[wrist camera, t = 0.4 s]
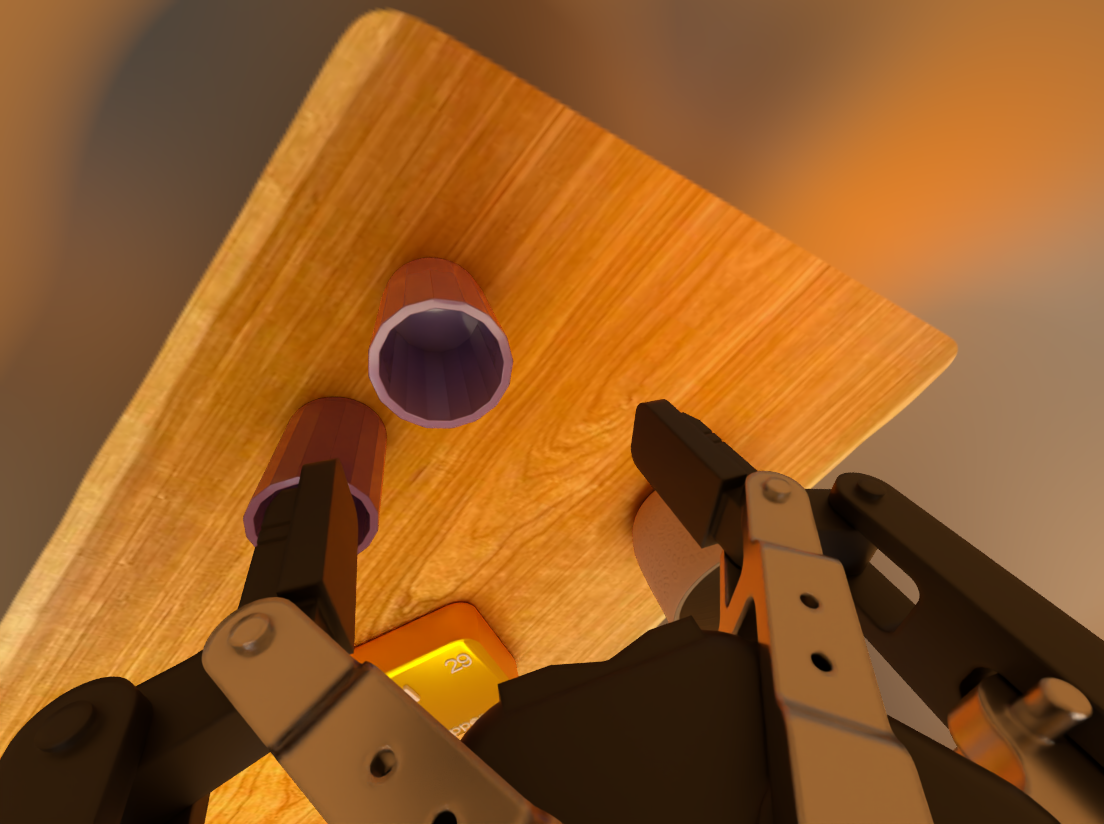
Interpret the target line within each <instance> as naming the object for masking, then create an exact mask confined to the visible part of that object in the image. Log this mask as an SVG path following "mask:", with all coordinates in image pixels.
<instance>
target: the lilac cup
mask: <svg viewBox="0 0 1104 824" xmlns="http://www.w3.org/2000/svg"><path fill="white" fill-rule="evenodd" d="M512 365H513V358H512V355H511V351H510V347H509V343H508V340H507V337H506V335H505V333H504V331H503V329H502V327H501V325H500V324H499V322H498V320H497V318H496V316H495V314H494V312H493V310H492V309H491V307H490V305H489V303H488V301H487V299H486V297H485V296H484V294H483V292H482V290H481V288H480V287H479V285H478V284H477V283H476V281H475V280H474V278H473V277H472V276H471V275H470V274H469V273H468V272H467V271H466V270H465V269H463V268H462V267H460V266H459V265H457V264H455V263H453V262H451V261H448V260H445V259H441V258H432V257H430V258H421V259H416V260H413V261H411V262H409V263H407V264H405V265H403V266H402V267H400V268H399V269H398V270H397V271H396V272H395V273H394V274H393V275H392V276H391V278H390V279H389V281H388V283H387V285H386V288H385V290H384V292H383V294H382V298H381V302H380V306H379V310H378V314H377V318H376V322H375V326H374V330H373V334H372V338H371V342H370V346H369V350H368V367H369V378H370V381H371V383H372V385H373V387H374V389H375V391H376V393H377V395H378V397H379V399H380V400H381V402H382V403H384V404H385V405H386V406H387V407H388V408H389V409H390V410H392V411H393V412H394V413H395V414H396V415H397V416H398V417H400V418H401V419H404V420H406V421H409V422H412V423H414V424H417V425H420V426H422V427H426V428H455V427H458V426H461V425H464V424H467V423H470V422H474V421H476V420H478V419H479V418H481V417H482V416H483V415H485V414H486V413H487V412H489V411H490V410H491V409H493V408H494V407H495V406H496V405H497V404H498V402H499V401H500V399H501V397H502V396H503V394H504V393H505V391H506V389H507V388H508V386H509V384H510V377H511V371H512Z"/></svg>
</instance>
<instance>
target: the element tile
mask: <svg viewBox="0 0 1104 824" xmlns="http://www.w3.org/2000/svg"><path fill="white" fill-rule="evenodd" d="M350 655H351V656H352V657H353V658H354V659H355V660H357V661H358V662H359V663H361V664H363V663H364V662H365V661H368V662H371V663H372V664H374V665H375V666H377V667H378V668H379V669H380V670H381V671H383V672H384V673H385V674H386V675H387V676H388V677H389V678H390V679H392V680H393V681H394V682H395V683H396V684H397V685H398V686H399V687H401V688H402V689H403V690H404V691H405V692H406V693H407V694H408V695H410V696H411V697H412V698H413V699H414V700H415V701H416V702H417V703H419V704H420V705H421V706H422V707H423V708H424V709H425V710H426V711H428V712H429V713H430V714H431V715H432V716H433V717H434V718H435V719H437V720H438V721H439V722H440V723H441V724H442V725H443V726H444V727H446V728H447V729H448V730H449V731H450V732H451V733H452V734H453V735H454V736H459V735H461V734H463V733H465V732H467V731H468V730H469V729H470V727H471V726H472V725H473V724H474V723H475V722H476V720H477V719H478V718H480V717H481V716H482V715H483V714H484V713H485V712H486V711H487V710H488V709H489V708H491V707H492V706H494V705H495V704H496V703H498V702H499V693H498V684H499V683H502V682H505V681H508V680H510V679H513V678H516V677H518V672H517V667H516V662H515V660H514V658H513V657H512V655H511V654H510V653H509V652H508V650H507V649H506V648H505V646H504V645H503V644H502V642H501V641H500V640H499V638H498V637H497V636H496V634H495V633H494V632H493V630H492V629H491V628H490V627H489V625H488V624H487V623H486V621H485V620H484V619H483V617H482V616H481V615H480V613H479V612H478V611H477V609H476V608H475V607H474V606H472V605H470V604H468V603H462V602H459V603H453V604H450V605H447V606H445V607H443V608H440V609H438V610H436V611H434V612H432V613H430V614H427V615H425V616H423V617H421V618H419V619H417V620H414V621H412V622H410V623H408V624H406V625H404V626H402V627H399V628H397V629H395V630H393V631H391V632H389V633H386V634H384V635H382V636H380V637H378V638H376V639H373V640H371V641H369V642H367V643H365V644H363V645H360V646H358V647H356V648H354V653H353V654H350Z"/></svg>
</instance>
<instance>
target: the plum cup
mask: <svg viewBox="0 0 1104 824" xmlns="http://www.w3.org/2000/svg"><path fill="white" fill-rule="evenodd" d="M386 441H387V434H386V429H385V426H384V424H383V422H382V420H381V419H380V417H379V416H378V415H377V414H376V413H375V412H374V411H373V410H372V409H370V408H369V407H368V406H366V405H364V404H362V403H360V402H358V401H355V400H352V399H348V398H341V397H327V398H321V399H317V400H314V401H311V402H309V403H307V404H305V405H304V406H302V407H301V408H300V409H299V410H297V411H296V412H295V414H294V415H293V416H292V418H291V419H290V421H289V423H288V425H287V427H286V429H285V431H284V433H283V435H282V437H281V439H280V441H279V444H278V446H277V448H276V450H275V452H274V454H273V456H272V458H271V460H270V462H269V464H268V466H267V468H266V470H265V472H264V474H263V476H262V478H261V480H260V482H259V484H258V486H257V488H256V491H255V493H254V495H253V497H252V499H251V501H250V503H249V505H248V507H247V510H246V512H245V514H244V516H243V521H244V527H245V533H246V536H247V538H248V539H249V541H250V542H251V543H252V544H253V545H254V547H255V546H257V539H258V536H259V532H260V531H261V525H262V521H263V518H264V514H265V511H266V508H267V507H268V506H269V504H270V503H271V502H272V501H273V500H274V498H275V497H276V496H277V495H278V493H279V492H280V491H281V490H286V489H291V488H296V487H298V483H299V479H300V474H301V469H302V466H303V464H307V463H313V462H318V461H324V460H329V459H335V458H339V460H340V461H341V464H342V467H343V470H344V473H345V476H346V479H347V482H348V485H349V488H350V492H351V495H352V498H353V501H354V504H355V508H356V513H357V519H358V549H357V555H358V554H359V553H360V552H362V551H363V550H364V549H366V548H367V547H368V546H369V545H370V543H371V541H372V540H373V538H374V536H375V535H376V533H377V531H378V526H379V516H380V506H381V496H382V486H383V476H384V466H385V456H386Z"/></svg>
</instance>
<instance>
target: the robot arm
mask: <svg viewBox="0 0 1104 824" xmlns="http://www.w3.org/2000/svg"><path fill="white" fill-rule="evenodd" d="M631 453H632V458H633V461H634V463H635V465H636V466H637V468H638V469H639V470H640V472H641V473H642V474H643V475H644V477H645V478H646V479H647V480H648V482H649V483H650V484H651V485H652V487H653V488H654V489H655V491H656V492H657V493H658V494H659V496H660V497H661V498H662V499H663V501H664V502H665V503H666V504H667V506H668V507H669V508H670V509H671V511H672V512H673V513H674V515H675V516H676V517H677V518H678V520H679V521H680V522H681V523H682V525H683V526H684V527H685V528H686V530H687V531H688V532H689V533H690V535H691V536H692V537H693V539H694V540H695V541H696V542H697V544H698V545H699V546H700V547H701V549H702V548H705V547H709V546H712V545H715V544H719V545H720V546H721V548H722V552H721V555H720V624H719V630H718V631H715V630H701V629H700V627H699V626H698V624H697V623H696V621H695V620H694V618H693V617H692V615H690V616H688V617H685V618H682V619H679V620H676V621H674V622H671V623H668V624H665V625H662V626H660V627H657V628H654V629H651V630H648V631H647V632H646V633H644V634H643V635H642V636H640V637H639V638H638V639H636V640H635V641H634V642H632V643H631V644H630V645H628V646H627V647H626V648H624V649H623V650H622V651H620V652H619V653H618V654H616V655H615V656H614V657H612V658H611V659H609V660H607V661H602V662H589V663H575V664H561V665H550V666H547V667H544V668H541V669H538V670H536V671H533V672H530V673H527V674H524V675H522V676H519V677H516V678H513V679H510V680H508V681H505V682H502V683H499V684H498V693H499V702H498V703H496V704H495V705H494V706H492V707H491V708H489V709H488V710H487V711H486V712H485V713H484V714H483V715H482V716H481V717H480V718H478V719H477V720H476V722H475V723H474V724H473V725H472V726H471V727H470V729H469V730H468V731H467V732H466V733H465V735H464V736H463V737H462V739H461V740H459V739H458V738H457V737H456V736H454V735H453V734H452V733H451V732H450V731H449V730H448V729H447V728H446V727H444V726H443V725H442V724H441V723H440V722H439V721H438V720H437V719H435V718H434V717H433V716H432V715H431V714H430V713H429V712H428V711H426V710H425V709H424V708H423V707H422V706H421V705H420V704H419V703H417V702H416V701H415V700H414V699H413V698H412V697H411V696H410V695H408V694H407V693H406V692H405V691H404V690H403V689H402V688H401V687H399V686H398V685H397V684H396V683H395V682H394V681H393V680H392V679H390V678H389V677H388V676H387V675H386V674H385V673H384V672H383V671H381V670H380V669H379V668H378V667H377V666H375V665H374V664H372V663H371V662H368V661H365V662H364V663H363V664H361V663H359V662H358V661H357V660H355V659H354V658H353V657H352V656H351V655H350V654H353V653H354V636H355V607H356V578H357V549H358V519H357V513H356V508H355V504H354V501H353V498H352V495H351V492H350V488H349V485H348V482H347V479H346V476H345V473H344V470H343V467H342V464H341V461H340V460H339V458H335V459H329V460H324V461H318V462H313V463H307V464H303V466H302V469H301V474H300V479H299V483H298V487H296V488H291V489H286V490H281V491H280V492H279V493H278V495H277V496H276V497H275V498H274V500H273V501H272V502H271V503H270V504H269V506H268V507H267V508H266V511H265V514H264V518H263V521H262V525H261V531H260V532H259V536H258V539H257V546H255V550H254V553H253V557H252V561H251V564H250V568H249V571H248V575H247V578H246V582H245V585H244V589H243V593H242V596H241V600H240V603H239V606H238V609H237V610H236V611H234V612H233V613H231V614H230V615H229V616H228V617H226V618H225V619H224V620H223V621H222V622H221V623H220V624H219V625H218V626H217V627H216V628H215V629H214V631H213V632H212V633H211V635H210V636H209V638H208V639H207V642H206V644H205V646H204V649H203V650H201V651H200V652H198V653H197V654H196V655H194V656H192V657H190V658H189V659H187V660H185V661H183V662H181V663H179V664H177V665H176V666H174V667H172V668H170V669H168V670H166V671H164V672H162V673H160V674H158V675H156V676H154V677H153V678H151V679H149V680H147V681H145V682H143V683H141V684H139V685H137V686H134V685H133V684H132V683H131V682H130V681H128V680H127V679H125V678H121V677H104V678H100V679H96V680H92V681H89V682H87V683H84V684H82V685H80V686H78V687H75V688H73V689H71V690H70V691H68V692H66V693H64V694H63V695H61V696H59V697H58V698H56V699H55V700H54V701H52V702H51V703H49V704H48V705H47V706H45V707H44V708H43V709H42V710H40V711H39V712H38V713H37V714H36V715H35V716H33V717H32V718H31V719H30V720H29V721H28V722H27V723H26V724H25V725H24V726H23V727H22V729H21V730H20V731H19V732H18V733H17V734H16V736H15V737H14V738H13V740H12V741H11V742H10V744H9V745H8V747H7V749H6V750H5V752H4V754H3V756H2V757H1V759H0V824H204V823H205V818H206V812H207V807H208V802H209V797H210V792H212V791H213V790H214V789H216V788H217V787H219V786H220V785H222V784H223V783H225V782H226V781H228V780H229V779H231V778H232V777H234V776H235V775H237V774H238V773H240V772H241V771H243V770H244V769H246V768H247V767H249V766H250V765H252V764H253V763H255V762H256V761H258V760H259V759H260V758H262V757H263V756H265V755H266V754H268V753H269V752H271V753H272V754H273V756H274V757H275V758H276V760H277V761H278V762H279V763H280V765H281V766H282V767H283V768H284V770H285V771H286V772H287V773H288V775H289V776H290V777H291V778H292V780H293V781H294V782H295V783H296V785H297V786H298V787H299V788H300V790H301V791H302V792H303V793H304V795H305V796H306V797H307V798H308V799H309V801H310V802H311V803H312V804H313V806H314V807H315V808H316V809H317V811H318V812H319V813H320V814H321V816H322V817H323V818H324V819H325V821H326V822H327V823H328V824H1104V641H1103V640H1102V639H1100V638H1099V637H1097V636H1096V635H1095V634H1093V633H1092V632H1091V631H1089V630H1088V629H1087V628H1085V627H1084V626H1082V625H1081V624H1080V623H1078V622H1077V621H1076V620H1074V619H1073V618H1071V617H1070V616H1069V615H1067V614H1066V613H1065V612H1063V611H1062V610H1061V609H1059V608H1058V607H1056V606H1055V605H1054V604H1052V603H1051V602H1049V601H1048V600H1047V599H1045V598H1044V597H1043V596H1041V595H1040V594H1038V593H1037V592H1036V591H1034V590H1033V589H1032V588H1030V587H1029V586H1027V585H1026V584H1025V583H1023V582H1022V581H1021V580H1019V579H1018V578H1017V577H1015V576H1014V575H1012V574H1011V573H1010V572H1008V571H1007V570H1006V569H1004V568H1003V567H1001V566H1000V565H999V564H997V563H995V562H994V561H993V560H992V559H990V558H989V557H988V556H986V555H985V554H984V553H982V552H981V551H979V550H978V549H977V548H975V547H974V546H973V545H971V544H970V543H969V542H967V541H966V540H964V539H963V538H962V537H960V536H959V535H958V534H956V533H955V532H953V531H952V530H950V529H949V528H948V527H947V526H945V525H944V524H942V523H941V522H939V521H938V520H937V519H935V518H934V517H933V516H931V515H930V514H929V513H927V512H926V511H925V510H923V509H922V508H920V507H919V506H918V505H916V504H915V503H914V502H912V501H911V500H909V499H908V498H907V497H905V496H904V495H903V494H901V493H900V492H898V491H897V490H896V489H894V488H893V487H892V486H890V485H889V484H887V483H885V482H883V481H882V480H880V479H877V478H875V477H872V476H869V475H865V474H861V473H844V474H841V475H839V476H838V477H837V479H836V481H835V483H834V485H833V487H832V489H804V488H803V487H802V486H801V485H800V484H799V483H798V482H796V481H795V480H793V479H791V478H789V477H787V476H785V475H783V474H780V473H776V472H771V471H757V470H756V469H755V468H753V467H752V466H751V465H750V464H749V463H748V462H747V461H745V460H744V459H743V458H742V457H741V456H740V455H739V454H737V453H736V452H735V451H734V450H733V449H732V448H731V447H729V446H728V445H727V444H726V443H725V442H722V439H720V438H719V437H718V436H717V435H716V434H715V433H712V431H711V430H710V429H709V428H708V427H707V426H706V425H704V424H703V423H702V422H701V421H700V420H698V419H696V418H694V417H692V416H690V415H688V414H686V413H684V412H683V413H681V412H679V411H678V410H677V409H676V408H675V407H674V406H673V405H672V404H671V403H670V402H668V401H667V400H665V399H661V400H656V401H650V402H645V403H640V404H639V405H638V406H637V409H636V414H635V421H634V428H633V435H632V443H631ZM877 549H879V550H880V551H881V552H882V553H884V554H885V555H886V556H887V557H888V558H889V559H890V560H892V561H893V562H894V563H895V564H896V565H897V566H898V567H900V568H901V569H902V570H903V571H904V572H905V573H906V574H908V575H909V576H910V577H911V578H912V580H913V581H914V582H915V583H916V585H917V587H918V590H919V593H920V598H919V601H918V602H917V604H916V605H915V604H914V603H913V602H912V601H910V600H909V598H907V597H906V596H905V595H904V594H903V593H902V592H901V591H900V590H899V589H898V588H897V587H895V586H894V585H893V584H892V583H891V582H890V581H889V580H888V579H887V578H886V577H885V576H884V575H883V574H882V573H880V572H879V571H878V570H877V569H876V568H875V567H874V566H873V565H872V564H871V563H870V562H869V561H870V560H871V558H872V557H873V555H874V553H875V552H876V550H877ZM864 637H865V638H866V639H867V640H868V641H869V642H870V643H871V644H872V645H873V647H875V649H876V650H877V651H878V652H879V653H880V654H881V655H882V656H883V657H884V659H885V660H886V661H887V662H888V663H889V664H890V665H891V666H892V667H893V669H894V670H895V671H896V672H897V673H898V674H899V675H900V676H901V677H902V678H903V680H904V681H905V682H906V683H907V684H908V685H909V686H910V687H911V688H912V689H913V691H914V692H915V693H916V694H917V695H918V696H919V697H920V698H921V699H922V700H923V702H924V703H925V704H926V705H927V706H928V707H929V708H930V709H931V710H932V711H933V713H934V714H935V715H936V716H937V717H938V718H939V719H940V720H941V721H942V722H943V724H944V725H945V726H946V727H947V728H948V729H949V731H950V734H951V736H952V738H953V740H954V742H955V743H956V745H957V747H956V748H955V749H954V750H951V749H949V748H947V747H945V746H944V745H942V744H940V743H938V742H936V741H934V740H932V739H931V738H929V737H927V736H925V735H923V734H922V733H920V732H918V731H916V730H914V729H913V728H911V727H909V726H907V725H905V724H903V723H901V722H900V721H898V720H896V719H894V718H892V717H890V716H889V715H887V714H886V711H885V708H884V704H883V701H882V697H881V694H880V691H879V687H878V684H877V681H876V677H875V674H874V670H873V667H872V663H871V660H870V657H869V653H868V650H867V646H866V643H865V640H864Z"/></svg>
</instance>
